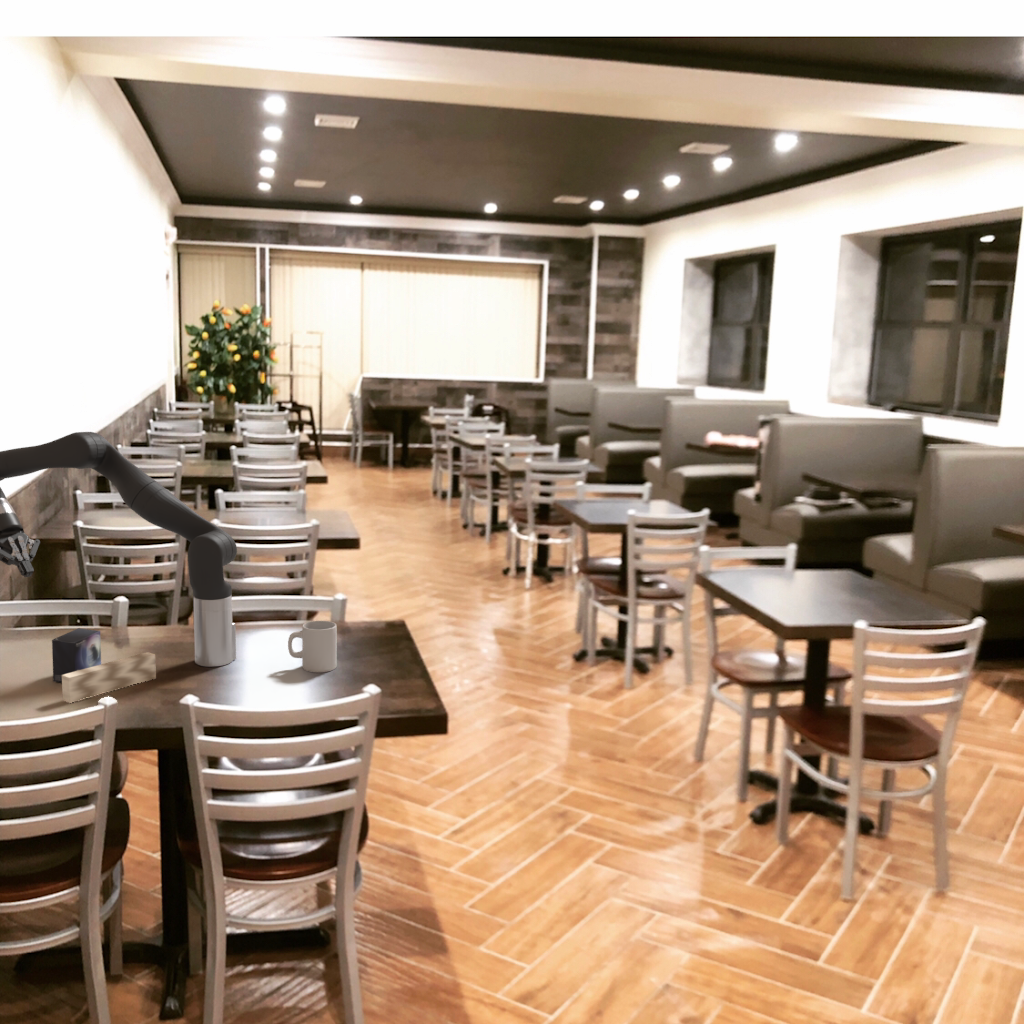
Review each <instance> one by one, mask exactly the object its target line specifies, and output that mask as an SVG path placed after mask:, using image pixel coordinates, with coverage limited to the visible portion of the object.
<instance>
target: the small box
mask: <svg viewBox="0 0 1024 1024" xmlns="http://www.w3.org/2000/svg"><path fill="white" fill-rule="evenodd" d="M101 643H102V642H101V630H95V629H88V628H87V629H86V628H80V627H78V628H75V629H73V630H72V631H69V632H67V633H65V634H62V635H60V636H57V637H56V638H53V639H51V649H52V652H51V653H52V656H51V657H52V682H53V683H61V684H62V675H63V674H67V673H71V672H75V671H78V670H82V669H86V668H90V667H93V666H97V665H101V664H102V650H101V649H102V648H101V647H102V646H101Z"/></svg>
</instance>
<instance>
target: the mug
mask: <svg viewBox="0 0 1024 1024" xmlns="http://www.w3.org/2000/svg"><path fill="white" fill-rule="evenodd" d="M337 628H338V627H337V623H335V622H333V621H329V620H313V621H308V622H305V623H303V624H302V629H301V630H298V631H297V630H296V631H293V632H291V633H290V635H289V637H288V641H287V648H288V649H287V650H288V652H289V655H290V656H291V657H292V658H295V659H302V661H301V662H302V664H301V665H302V669H303V670H304V671H306V672H311V673H326V672H327V673H328V672H330V671H333V670H335V669H336V668H337V666H338V660H337V659H338V658H337V657H338V656H337V654H338V653H337V652H338V651H337V649H338V648H337V644H338V643H337V638H338V637H337V636H338V635H337V632H338V631H337ZM296 638H299V639H301V640H302V641H301V644H302V649H301V650H299V651H295V650H294V649H293V641H294V639H296Z"/></svg>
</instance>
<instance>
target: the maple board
mask: <svg viewBox="0 0 1024 1024" xmlns="http://www.w3.org/2000/svg"><path fill="white" fill-rule="evenodd" d="M156 662H157V661H156V654H155V653H151V652H149V651H146V652H142V653H139V654H135V655H131V656H127V657H123V658H120V659H119V658H118V659H117V660H112V661H107V662H104V663H101V665H97V666H93V667H90V668H86V669H82V670H78V671H75V672H71V673H67V674H63V675H62V683H61V687H62V689H61V691H62V701H63V702H65V701H66V703H68V702H69V703H68V704H70V703H71V704H73V703H72V702H74V701H78V700H80V699H83V698H86V697H90V696H94V695H97V694H100V693H102V692H107V691H112V690H115V689H118V688H122V687H125V688H127V687H126V686H129V687H131V686H130V685H132V686H134V685H133V684H136V685H138V684H137V683H139V684H142V683H146V682H148V681H152V679H153V680H155V679H157V670H156V669H157V668H156V666H157V665H156ZM145 681H146V682H145ZM141 682H142V683H141ZM122 689H123V688H122ZM115 691H116V690H115ZM112 692H113V691H112ZM78 702H79V701H78ZM74 703H75V702H74Z"/></svg>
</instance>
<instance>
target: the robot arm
mask: <svg viewBox="0 0 1024 1024" xmlns="http://www.w3.org/2000/svg"><path fill="white" fill-rule="evenodd" d="M62 468H63V469H79V470H83V469H84V470H85V469H92V470H94V471H96V472H97V473H98V474H100V475H101V476H103V477H105V478H106V479H107V480H108V481H109V482H111V483H112V484H113V485H114V487H115V488H116V490H117V492H118V493H119V495H120V498H121V499H122V500H123V502H124V503H125V505H126V506H127V507H128V508H129V509H131V510H132V511H133V512H134V513H135V514H137V515H138V516H139V517H141V518H142V519H144V520H145V521H146V522H148V523H149V524H152V525H154V526H156V527H158V528H161V529H163V530H166V531H168V532H171V533H174V534H177V535H179V536H180V537H182V538H183V539H186V540H187V541H188V542H189V543H190V544H189V546H188V550H187V562H188V563H187V564H188V577H189V578H188V579H189V584H190V587H191V589H192V591H193V592H192V593H193V594H192V595H193V629H194V630H193V631H194V633H193V635H194V663H195V664H196V665H198V666H201V667H209V668H211V667H212V668H213V667H222V666H225V665H228V664H231V663H232V662H233V661H234V660H236V659H237V643H236V642H237V639H236V638H237V636H236V635H237V634H236V623H235V622H233V600H232V598H233V596H232V593H233V592H232V590H233V589H232V585H231V583H230V582H228V581H226V580H225V575H224V566H226V565H228V564H230V563H232V562H233V561H234V560H235V559H236V557H237V554H238V553H237V552H238V547H237V544H236V542H235V540H234V538H233V537H232V536H231V535H230V534H229V533H228V532H226V531H225V530H224V529H222V528H221V527H219V526H217V525H215V524H214V523H213V522H211V521H209V520H207V519H206V518H204V517H202V516H201V515H200V514H198V513H197V512H196V511H195V510H193V509H192V508H190V507H189V506H188V505H186V504H185V503H184V502H183V501H182V500H180V499H179V498H177V497H176V496H175V495H174V494H173V493H171V492H170V491H169V490H168V489H167V488H165V487H164V486H163V485H162V484H160V482H158V481H157V480H155V479H154V478H152V477H151V476H149V475H148V474H147V473H146V472H144V471H143V470H142V469H140V468H139V467H138V466H137V465H135V464H133V462H131V461H130V460H128V459H127V457H125V456H124V455H123V454H122V453H120V451H119V450H117V448H116V447H114V446H113V444H112V443H111V442H109V440H107V439H106V437H104V436H103V435H101V434H99V433H96V432H93V431H80V432H79V431H78V432H72V433H69V434H67V435H65V436H63V437H62V436H61V437H60V438H58V439H54V440H52V441H49V442H45V443H43V444H39V445H38V444H37V445H32V446H25V447H24V446H23V447H18V448H12V449H11V448H10V449H7V450H6V449H5V450H1V451H0V482H1V481H3V480H5V479H9V478H16V477H21V476H26V475H30V474H33V473H35V472H39V471H43V470H48V469H62ZM40 544H41V541H40V539H38V538H37V539H35V540H34V539H31V538H30V537H29V535H28V534H27V533H26V532H25V530H24V527H23V525H22V522H21V521H20V519H19V518H18V515H17V513H16V511H15V509H14V508H13V506H12V504H11V503H10V502H9V500H8V498H7V496H6V495H5V493H4V491H3V489H2V488H1V486H0V562H1V563H3V564H5V565H7V566H12V565H14V566H16V568H17V569H18V572H19V573H20V575H21V576H22V577H23V578H30V577H32V576H33V573H34V571H35V570H34V567H33V565H32V563H31V562H33V560H34V558H35V557H36V554H37V551H38V549H39V546H40ZM27 548H29V549H30V550H29V553H28V549H27Z"/></svg>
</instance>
